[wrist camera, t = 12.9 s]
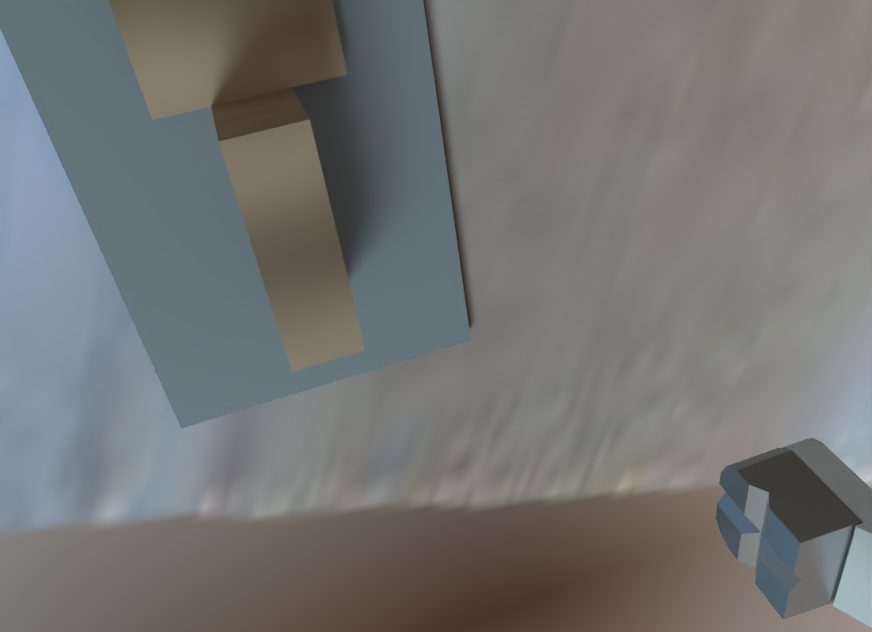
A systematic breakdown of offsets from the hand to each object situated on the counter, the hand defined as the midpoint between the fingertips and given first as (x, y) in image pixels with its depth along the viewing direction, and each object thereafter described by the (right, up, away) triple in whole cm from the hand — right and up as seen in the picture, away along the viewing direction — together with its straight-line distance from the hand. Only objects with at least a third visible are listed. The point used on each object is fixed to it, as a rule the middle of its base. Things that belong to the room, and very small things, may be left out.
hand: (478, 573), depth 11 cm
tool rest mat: (-6, +10, +14) cm, 18 cm away
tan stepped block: (-6, +10, +13) cm, 18 cm away
